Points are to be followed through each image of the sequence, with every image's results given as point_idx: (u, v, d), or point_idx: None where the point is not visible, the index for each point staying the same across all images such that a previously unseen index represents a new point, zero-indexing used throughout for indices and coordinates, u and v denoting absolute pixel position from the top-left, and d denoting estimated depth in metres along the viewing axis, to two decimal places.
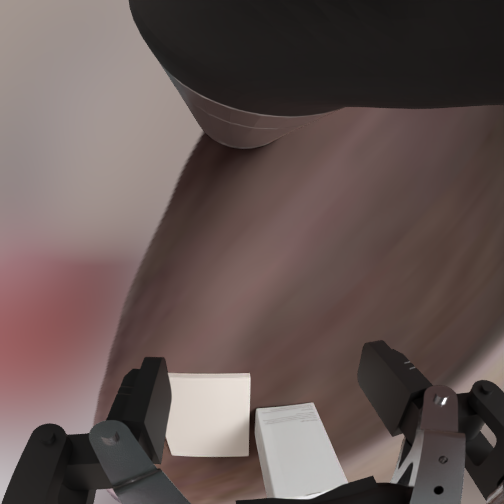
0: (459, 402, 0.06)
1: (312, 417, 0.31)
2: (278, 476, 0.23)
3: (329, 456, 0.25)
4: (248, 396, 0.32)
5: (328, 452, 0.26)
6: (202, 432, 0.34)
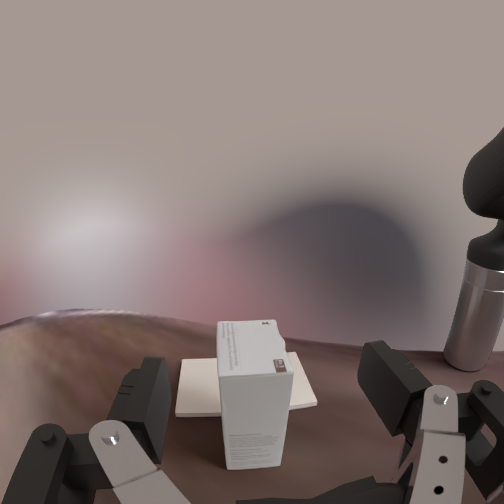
0: (459, 402, 0.06)
1: None
2: None
3: None
4: (291, 404, 0.32)
5: None
6: None
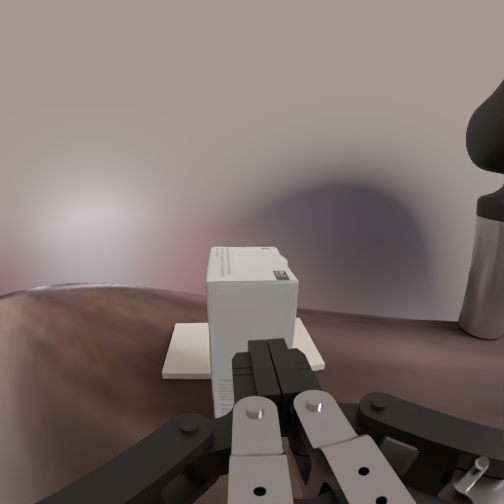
0: (345, 413, 0.07)
1: None
2: None
3: None
4: None
5: None
6: None
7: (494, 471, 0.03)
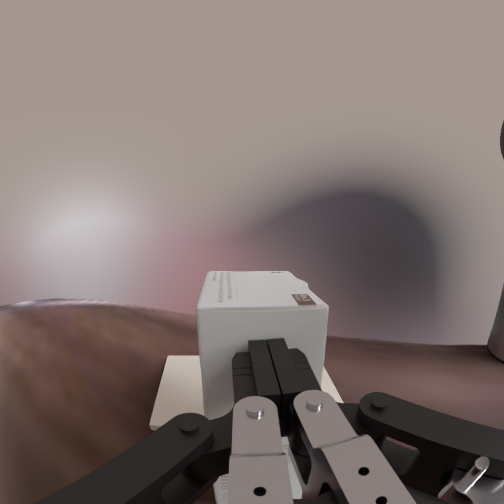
0: (345, 413, 0.07)
1: None
2: None
3: None
4: None
5: None
6: None
7: (494, 471, 0.03)
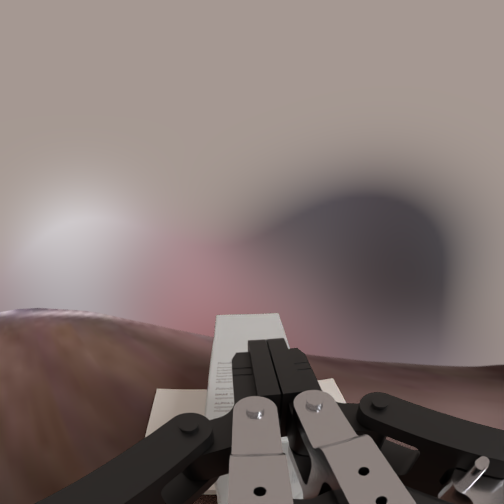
0: (345, 413, 0.07)
1: None
2: None
3: None
4: None
5: None
6: None
7: (494, 471, 0.03)
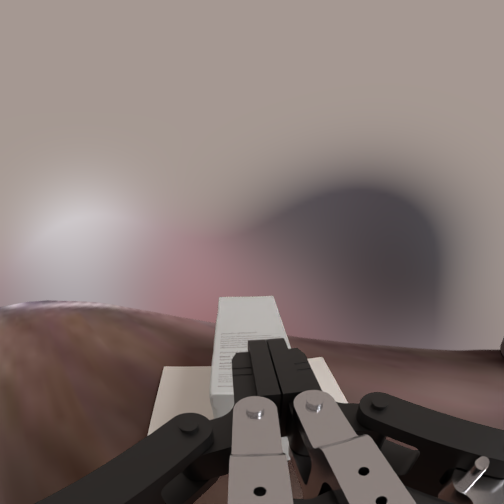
0: (345, 413, 0.07)
1: None
2: None
3: None
4: None
5: None
6: None
7: (494, 471, 0.03)
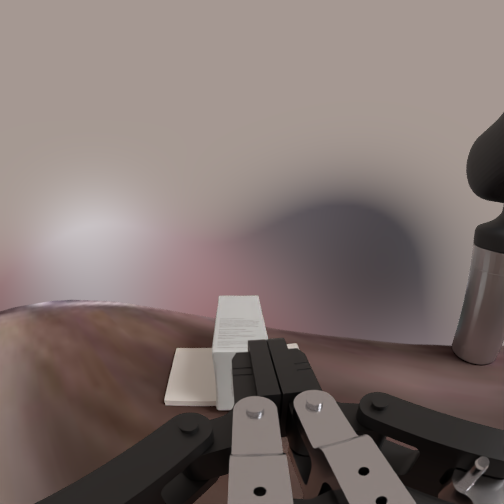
0: (345, 413, 0.07)
1: None
2: None
3: None
4: None
5: None
6: None
7: (494, 471, 0.03)
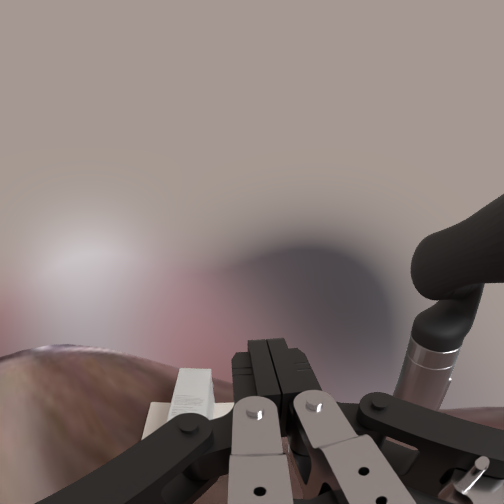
0: (345, 413, 0.07)
1: (208, 418, 0.35)
2: (213, 408, 0.45)
3: (210, 389, 0.42)
4: None
5: (210, 391, 0.41)
6: None
7: (494, 471, 0.03)
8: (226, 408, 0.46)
